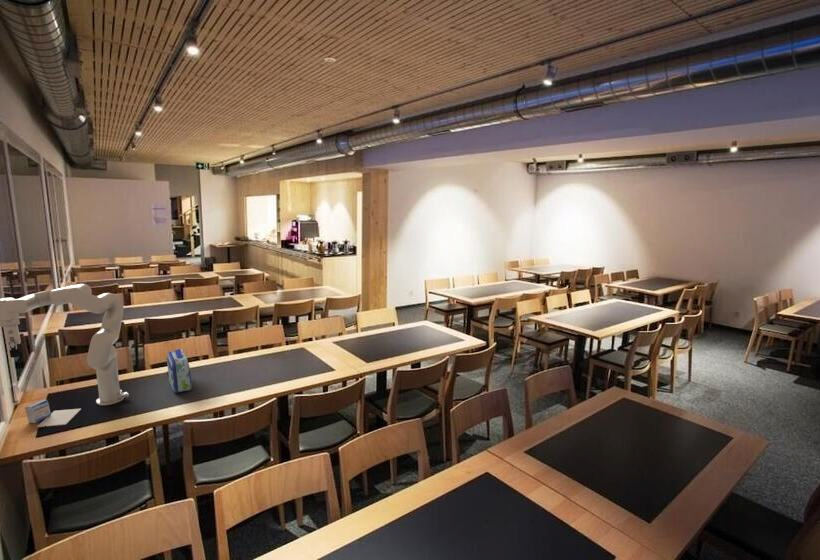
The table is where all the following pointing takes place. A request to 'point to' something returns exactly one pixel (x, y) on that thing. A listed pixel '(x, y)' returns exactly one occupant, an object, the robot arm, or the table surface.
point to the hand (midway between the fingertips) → (15, 354)
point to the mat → (59, 417)
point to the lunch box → (178, 371)
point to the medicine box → (38, 411)
